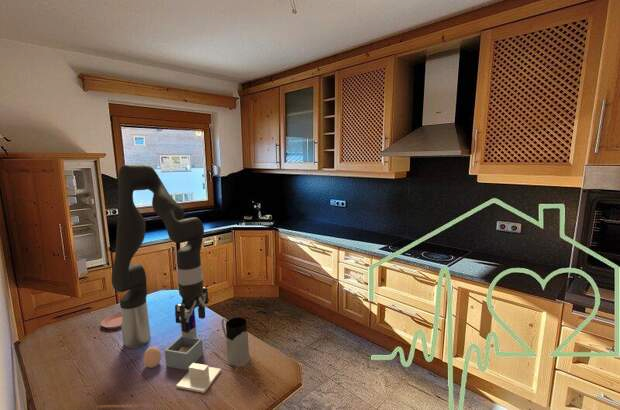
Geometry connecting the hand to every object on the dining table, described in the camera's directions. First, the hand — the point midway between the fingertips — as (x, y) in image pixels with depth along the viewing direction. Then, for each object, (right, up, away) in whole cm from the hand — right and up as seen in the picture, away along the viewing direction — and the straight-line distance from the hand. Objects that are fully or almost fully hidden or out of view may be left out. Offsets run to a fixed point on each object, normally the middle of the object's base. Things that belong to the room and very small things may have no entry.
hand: (194, 324), depth 102 cm
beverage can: (-11, -17, +25) cm, 32 cm away
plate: (-50, -15, +41) cm, 67 cm away
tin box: (-8, -19, +13) cm, 24 cm away
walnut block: (-8, -18, +12) cm, 23 cm away
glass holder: (+10, -18, +15) cm, 25 cm away
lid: (+1, -20, +3) cm, 20 cm away
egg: (-19, -20, +10) cm, 29 cm away
